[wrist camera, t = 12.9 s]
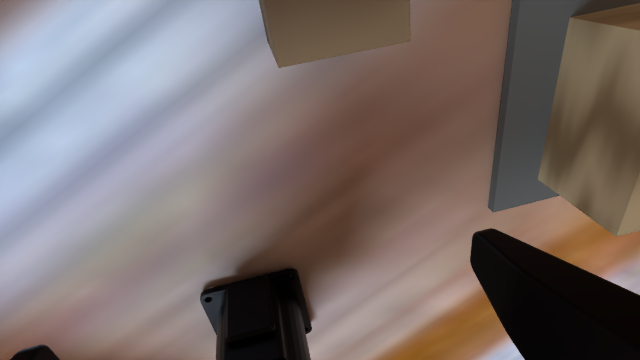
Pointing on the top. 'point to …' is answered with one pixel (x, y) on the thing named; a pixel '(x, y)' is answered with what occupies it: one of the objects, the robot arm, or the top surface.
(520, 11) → the mat
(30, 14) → the top surface
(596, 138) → the wooden block
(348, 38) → the brown wooden cube
